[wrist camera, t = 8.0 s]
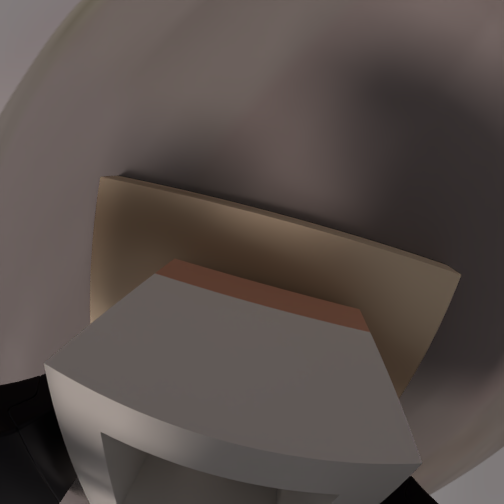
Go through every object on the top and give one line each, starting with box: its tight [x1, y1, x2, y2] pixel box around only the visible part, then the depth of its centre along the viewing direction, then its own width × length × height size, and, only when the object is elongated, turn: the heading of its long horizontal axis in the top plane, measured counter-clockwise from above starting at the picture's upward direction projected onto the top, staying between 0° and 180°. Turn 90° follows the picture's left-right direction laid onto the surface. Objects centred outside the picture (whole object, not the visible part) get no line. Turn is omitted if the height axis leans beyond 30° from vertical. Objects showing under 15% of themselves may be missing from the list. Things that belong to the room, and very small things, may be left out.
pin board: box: [90, 176, 461, 398], centre depth 10 cm, size 20×13×6 cm, turn 166°
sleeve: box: [44, 258, 422, 504], centre depth 7 cm, size 6×6×6 cm
